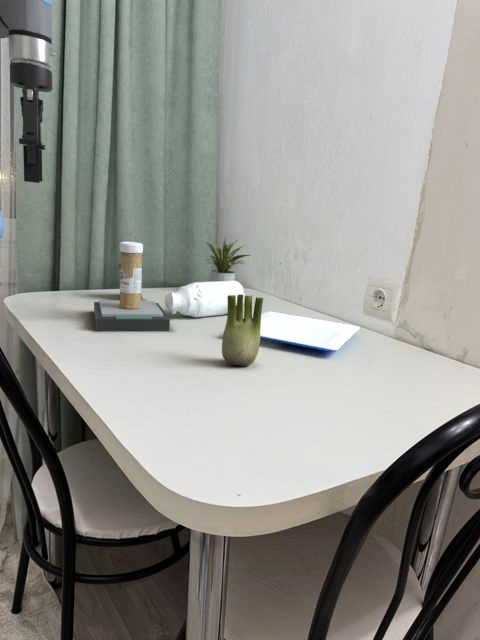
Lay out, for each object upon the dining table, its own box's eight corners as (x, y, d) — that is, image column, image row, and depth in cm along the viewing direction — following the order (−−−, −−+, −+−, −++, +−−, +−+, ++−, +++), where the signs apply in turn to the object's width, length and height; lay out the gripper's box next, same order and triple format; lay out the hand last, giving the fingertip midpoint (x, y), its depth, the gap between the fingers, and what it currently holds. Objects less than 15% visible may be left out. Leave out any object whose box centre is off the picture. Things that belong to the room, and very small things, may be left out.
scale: (93, 312, 112) (93, 299, 111) (157, 313, 117) (158, 300, 116) (96, 331, 97) (96, 315, 97) (169, 330, 102) (170, 316, 101)
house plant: (214, 299, 139) (218, 238, 134) (186, 289, 149) (189, 233, 144) (253, 296, 148) (258, 239, 144) (224, 287, 158) (228, 234, 153)
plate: (359, 335, 113) (360, 326, 113) (335, 359, 93) (337, 349, 92) (266, 319, 121) (267, 310, 120) (226, 338, 100) (226, 328, 100)
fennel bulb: (259, 363, 87) (266, 294, 83) (250, 371, 82) (256, 299, 79) (228, 357, 88) (233, 289, 85) (217, 365, 84) (222, 293, 81)
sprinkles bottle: (114, 306, 106) (114, 241, 102) (131, 304, 109) (132, 241, 105) (129, 310, 103) (130, 243, 99) (146, 308, 107) (147, 243, 103)
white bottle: (158, 315, 114) (159, 280, 112) (223, 309, 127) (225, 277, 125) (177, 323, 109) (179, 287, 106) (244, 316, 121) (246, 283, 119)
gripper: (50, 57, 88) (52, 185, 94) (53, 80, 110) (54, 182, 116) (2, 48, 85) (7, 180, 91) (15, 73, 107) (18, 178, 113)
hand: (33, 181), depth 104 cm, fingers open, 13 cm apart
